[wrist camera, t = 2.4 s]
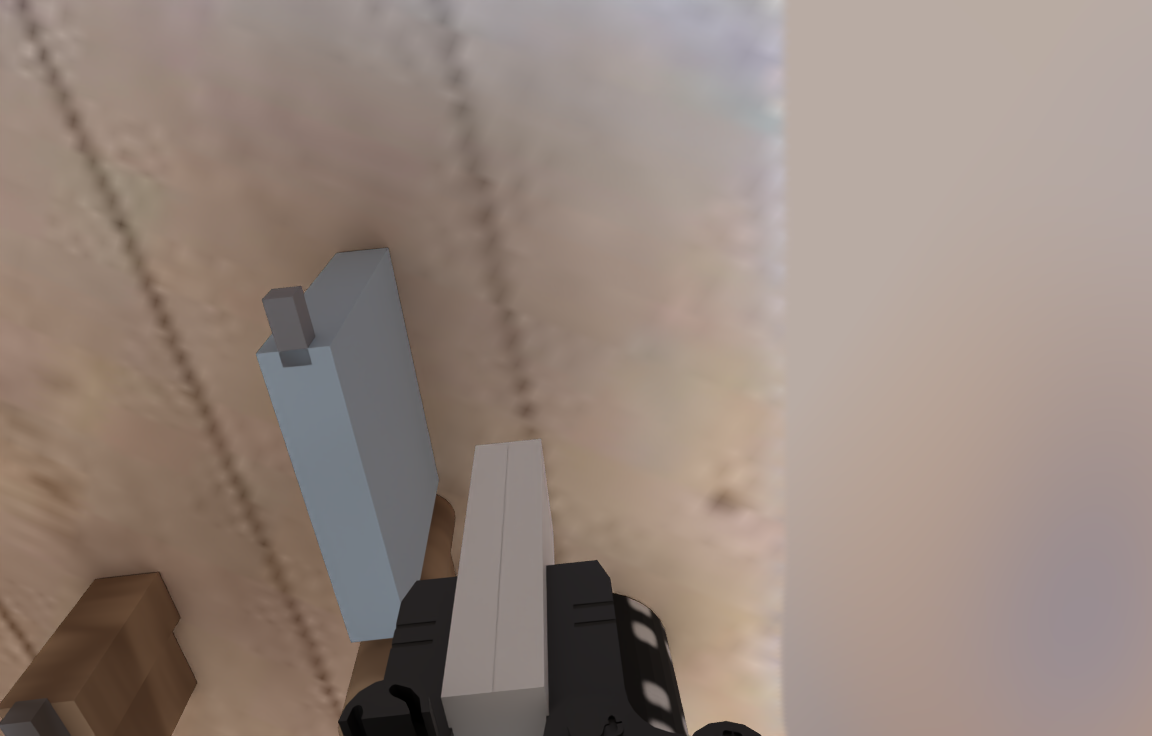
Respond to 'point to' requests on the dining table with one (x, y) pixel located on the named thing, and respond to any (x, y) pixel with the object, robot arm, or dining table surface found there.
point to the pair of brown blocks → (148, 658)
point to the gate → (354, 432)
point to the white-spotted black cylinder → (648, 666)
